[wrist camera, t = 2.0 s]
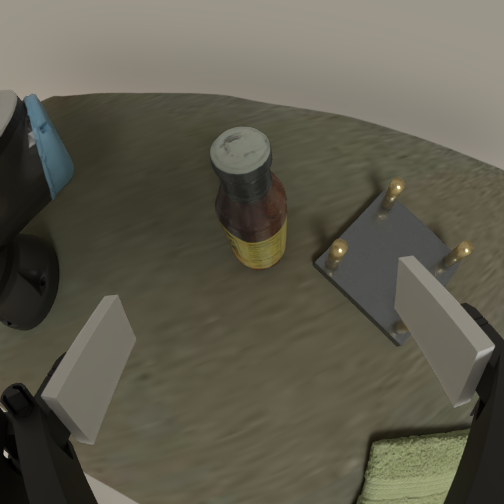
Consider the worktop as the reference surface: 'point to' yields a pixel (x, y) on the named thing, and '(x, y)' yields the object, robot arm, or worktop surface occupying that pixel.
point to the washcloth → (413, 468)
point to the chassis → (385, 259)
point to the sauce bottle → (249, 197)
